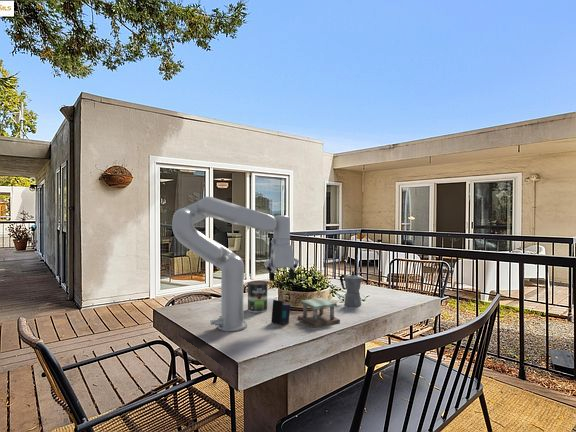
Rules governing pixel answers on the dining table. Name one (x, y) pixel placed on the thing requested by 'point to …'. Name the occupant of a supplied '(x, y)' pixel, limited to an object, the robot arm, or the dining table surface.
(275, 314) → the speaker
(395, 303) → the dining table surface
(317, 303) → the peg shelf stand
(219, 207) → the robot arm
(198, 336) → the dining table surface
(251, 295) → the coffee can
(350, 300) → the coffeepot
